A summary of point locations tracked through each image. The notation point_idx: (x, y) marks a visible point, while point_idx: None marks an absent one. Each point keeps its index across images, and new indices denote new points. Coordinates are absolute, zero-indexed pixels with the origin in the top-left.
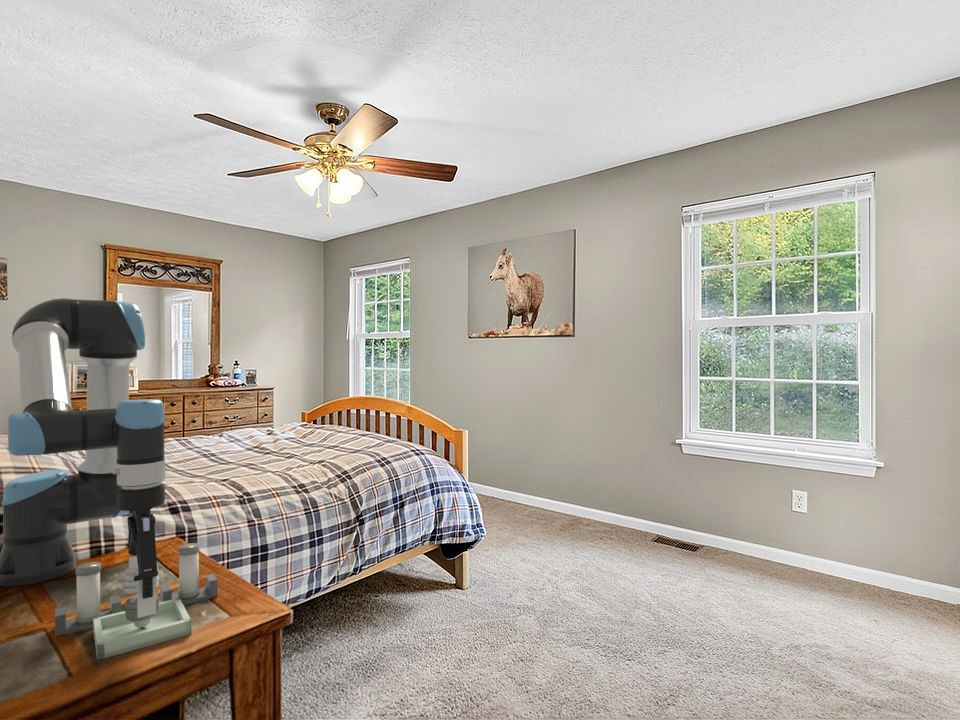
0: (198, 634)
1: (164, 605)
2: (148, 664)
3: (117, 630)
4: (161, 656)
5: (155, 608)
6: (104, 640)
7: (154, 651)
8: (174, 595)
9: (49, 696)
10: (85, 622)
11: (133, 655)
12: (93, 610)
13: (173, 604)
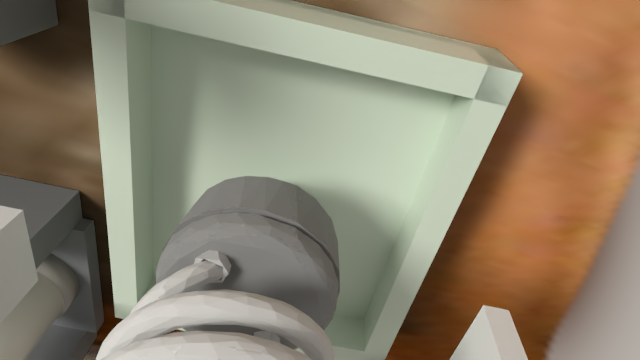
0: (538, 24)
1: (133, 73)
2: (571, 256)
3: None
4: (563, 212)
5: (518, 340)
6: None
7: (494, 212)
8: None
9: None
10: (75, 297)
11: (450, 260)
12: (43, 309)
13: (136, 21)
